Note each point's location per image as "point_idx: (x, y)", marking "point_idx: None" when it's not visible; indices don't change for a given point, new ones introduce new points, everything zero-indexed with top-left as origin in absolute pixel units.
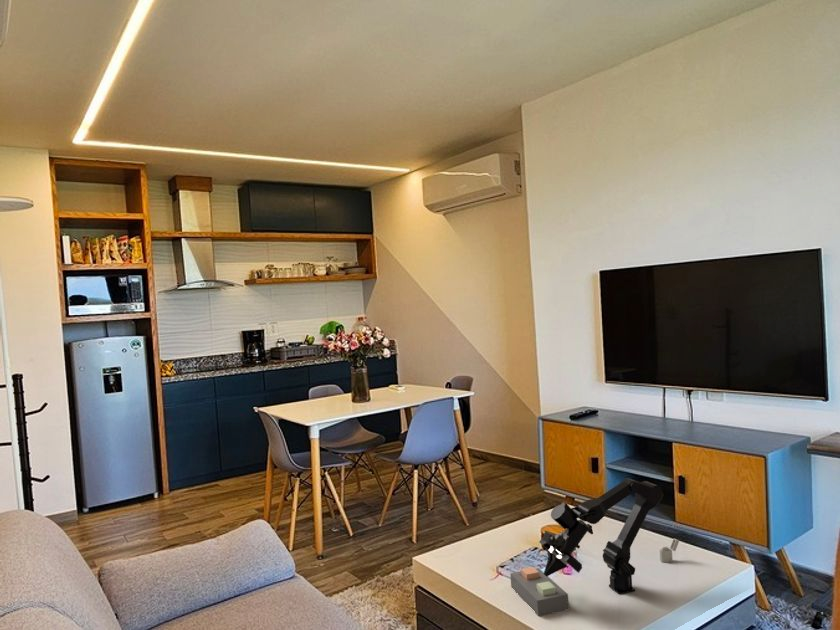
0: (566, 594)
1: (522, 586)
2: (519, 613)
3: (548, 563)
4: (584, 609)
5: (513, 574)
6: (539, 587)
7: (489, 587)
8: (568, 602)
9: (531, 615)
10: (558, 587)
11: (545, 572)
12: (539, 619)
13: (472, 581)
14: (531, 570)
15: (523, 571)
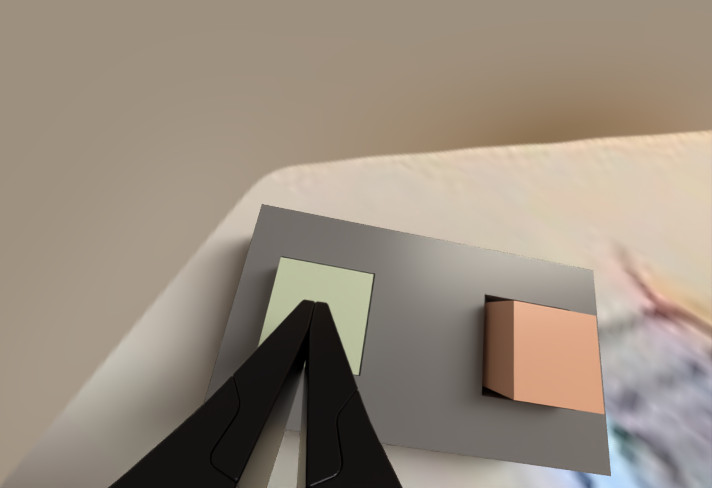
0: None
1: (441, 241)
2: (336, 185)
3: (316, 402)
4: None
5: (576, 276)
6: (329, 267)
7: (561, 208)
8: None
9: None
10: None
11: (306, 312)
12: (253, 219)
13: (623, 184)
14: (554, 365)
15: (560, 309)
